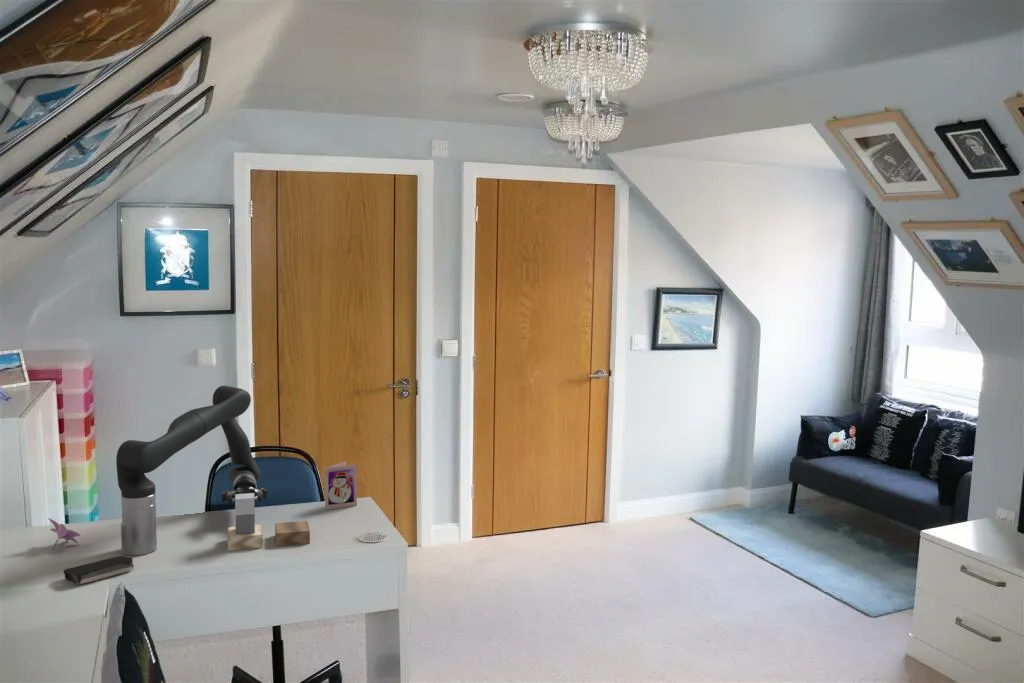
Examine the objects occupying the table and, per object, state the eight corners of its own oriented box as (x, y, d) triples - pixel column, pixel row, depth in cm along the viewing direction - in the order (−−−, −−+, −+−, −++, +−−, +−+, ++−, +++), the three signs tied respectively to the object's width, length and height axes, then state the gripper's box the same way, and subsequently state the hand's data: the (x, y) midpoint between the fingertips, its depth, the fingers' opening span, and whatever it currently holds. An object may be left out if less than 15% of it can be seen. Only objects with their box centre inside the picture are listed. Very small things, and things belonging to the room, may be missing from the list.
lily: (81, 554, 239) (90, 524, 243) (42, 547, 233) (52, 516, 237) (70, 555, 247) (80, 527, 251) (32, 548, 241) (43, 519, 244)
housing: (235, 534, 244) (235, 499, 243) (235, 528, 250) (235, 494, 249) (254, 533, 246) (254, 498, 245) (254, 527, 251) (254, 493, 250)
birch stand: (227, 550, 242) (227, 537, 242) (228, 539, 251) (228, 527, 251) (262, 547, 245) (262, 534, 245) (262, 536, 255) (261, 524, 254)
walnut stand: (276, 546, 246) (276, 533, 246) (275, 535, 256) (275, 523, 256) (309, 543, 250) (309, 530, 249) (307, 532, 259) (307, 520, 259)
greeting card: (325, 510, 283) (325, 468, 281) (320, 504, 289) (320, 463, 288) (357, 506, 288) (357, 465, 287) (351, 500, 295) (351, 460, 293)
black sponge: (74, 589, 213) (74, 576, 212) (62, 580, 218) (61, 567, 218) (136, 572, 225) (136, 559, 225) (123, 564, 230) (123, 552, 230)
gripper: (222, 477, 271) (221, 490, 256) (266, 474, 276) (267, 487, 261) (222, 499, 272) (221, 513, 257) (266, 496, 277) (268, 510, 261)
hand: (244, 500), depth 259 cm, fingers open, 8 cm apart
